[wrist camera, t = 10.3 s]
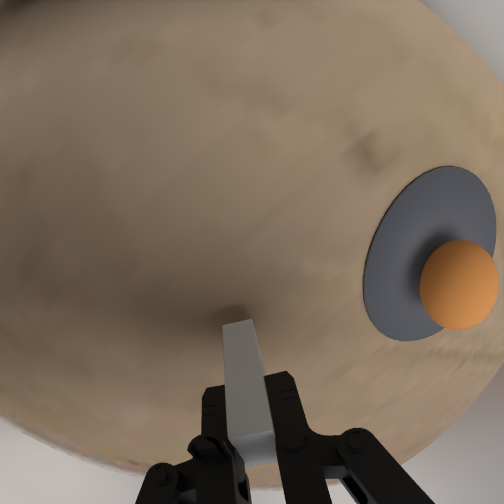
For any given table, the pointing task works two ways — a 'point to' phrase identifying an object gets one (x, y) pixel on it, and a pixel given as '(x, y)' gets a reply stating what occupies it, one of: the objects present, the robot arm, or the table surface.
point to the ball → (459, 284)
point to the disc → (422, 246)
